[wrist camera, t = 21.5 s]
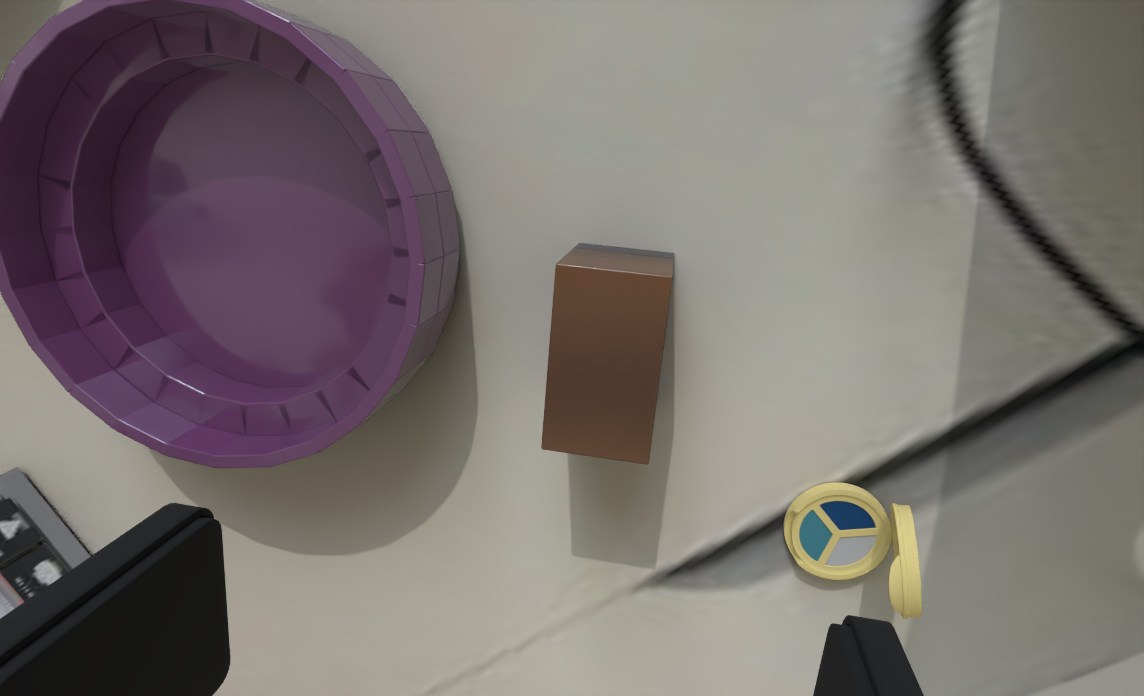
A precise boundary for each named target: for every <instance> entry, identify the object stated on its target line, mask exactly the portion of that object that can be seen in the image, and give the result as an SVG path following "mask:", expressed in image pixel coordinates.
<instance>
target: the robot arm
mask: <svg viewBox="0 0 1144 696" xmlns="http://www.w3.org/2000/svg"><path fill="white" fill-rule="evenodd" d="M229 666H230V647H229V632H228V617H227V602H226V587H225V572H224V557H223V542H222V529H221V524H220V523H219V521H217V520H215V519H214V516H213V514H212V512H211V511H210V510H208V509H207V508H201V507H195V506H189V505H183V504H177V503H170V504H168V505H166V506H164V507H162V508H161V509H160V510H158V511H157V512H155V513H154V514H152V515H151V516H149V517H148V518H146V519H145V520H143V521H142V522H141V523H139V524H138V525H136V526H135V527H133V528H132V529H130V530H129V531H127V532H126V533H124V534H123V535H122V536H120V537H119V538H117V539H116V540H114V541H113V542H111V543H110V544H108V545H107V546H105V547H104V548H103V549H101V550H100V551H98V552H97V553H95V554H94V555H92V556H91V557H89V558H88V559H86V560H85V561H84V562H82V563H81V564H79V565H78V566H76V567H75V568H73V569H72V570H70V571H69V572H68V573H66V574H65V575H63V576H62V577H60V578H59V579H57V580H56V581H54V582H53V583H51V584H50V585H49V586H47V587H46V588H44V589H43V590H41V591H40V592H38V593H37V594H35V595H34V596H32V597H31V598H30V599H28V600H27V601H25V602H24V603H22V604H21V605H19V606H18V607H16V608H15V609H13V610H12V611H11V612H9V613H8V614H6V615H5V616H3V617H2V618H0V696H212V695H213V694H214V693H215V692H216V691H217V689H218V688H219V687H220V686H221V684H222V683H223V681H224V680H225V678H226V676H227V673H228V670H229ZM813 696H924V695H923V693H922V691H921V688H920V686H919V684H918V682H917V679H916V677H915V675H914V673H913V670H912V668H911V666H910V663H909V661H908V659H907V657H906V654H905V652H904V650H903V647H902V645H901V643H900V641H899V638H898V636H897V634H896V632H895V629H894V627H893V626H892V624H891V623H889V622H887V621H881V620H875V619H869V618H863V617H857V616H851V615H848V616H846V617H845V619H844V621H843V623H842V625H840V624H834V623H833V624H831V625H830V627H829V630H828V633H827V637H826V642H825V646H824V651H823V655H822V659H821V664H820V668H819V673H818V677H817V682H816V686H815V690H814V695H813Z"/></svg>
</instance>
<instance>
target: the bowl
mask: <svg viewBox="0 0 1144 696" xmlns="http://www.w3.org/2000/svg"><path fill="white" fill-rule="evenodd" d="M429 133H430V132H429V130H428V129H427V127H426V126H425V125H424V123H423V122H422V120H421V119H420V117H419V116H418V115H417V113H416V112H415V110H414V109H413V107H412V106H411V104H410V103H409V102H408V100H407V99H406V97H405V96H404V94H403V93H402V92H401V90H400V89H399V87H398V86H397V84H396V83H395V82H394V81H393V80H392V79H391V78H390V77H389V76H388V75H387V74H386V73H384V72H383V71H382V70H381V69H380V68H379V67H377V66H376V65H375V64H374V63H373V62H372V61H371V60H369V59H368V58H367V57H366V56H365V55H364V54H363V53H361V52H360V51H359V50H358V49H357V48H356V47H354V46H353V45H352V44H351V43H350V42H349V41H347V40H346V39H344V38H342V37H340V36H338V35H336V34H334V33H332V32H330V31H328V30H326V29H323V28H321V27H319V26H317V25H315V24H313V23H311V22H309V21H307V20H305V19H303V18H301V17H299V16H297V15H295V14H292V13H289V12H286V11H284V10H281V9H278V8H275V7H272V6H269V5H266V4H263V3H261V2H258V1H255V0H83V1H81V2H79V3H77V4H75V5H73V6H72V7H70V8H68V9H66V10H64V11H62V12H60V13H58V14H57V15H55V16H53V17H52V18H50V19H49V20H48V21H47V22H46V23H45V24H44V25H43V27H42V28H41V29H40V30H39V31H38V32H37V33H36V34H35V35H34V36H33V37H32V38H31V40H30V41H29V42H28V43H27V44H26V45H25V46H24V47H23V48H22V49H21V50H20V51H19V53H18V54H17V55H16V56H15V57H14V58H13V61H11V63H10V65H9V67H8V69H7V71H6V73H5V76H4V78H3V80H2V82H1V84H0V292H1V295H2V297H3V299H4V301H5V302H6V304H7V306H8V308H9V310H10V312H11V313H12V315H13V317H14V319H15V321H16V323H17V324H18V326H19V328H20V330H21V332H22V334H23V335H24V337H25V339H26V341H27V343H28V345H29V346H31V349H32V350H33V351H34V352H35V353H36V355H37V356H38V357H39V358H40V359H41V361H42V362H43V363H44V364H45V365H46V367H47V368H48V369H49V370H50V371H51V373H52V374H53V375H54V376H55V377H56V379H57V380H58V381H59V382H60V383H61V385H62V386H63V387H64V388H65V389H66V391H67V392H70V395H71V396H73V397H74V398H75V399H76V400H78V401H79V402H80V403H81V404H83V405H84V406H85V407H86V408H88V409H89V410H90V411H91V412H93V413H94V414H95V415H96V416H98V417H99V418H100V419H101V420H103V421H104V422H105V423H106V424H108V425H109V426H110V427H111V428H113V429H115V430H116V431H117V432H119V433H121V434H123V435H125V436H127V437H129V438H131V439H133V440H135V441H137V442H139V443H141V444H143V445H145V446H147V447H149V448H151V449H153V450H155V451H157V452H159V453H161V454H163V455H165V456H169V457H173V458H177V459H181V460H185V461H189V462H193V463H197V464H202V465H206V466H210V467H214V468H263V467H273V466H277V465H280V464H283V463H287V462H290V461H293V460H297V459H300V458H303V457H306V456H310V455H313V454H316V453H319V452H321V451H323V450H324V449H326V448H327V447H329V446H330V445H331V444H333V443H334V442H336V441H337V440H339V439H340V438H342V437H343V436H345V435H346V434H348V433H349V432H351V431H352V430H354V429H355V428H357V427H358V426H360V425H361V424H362V423H364V422H365V421H366V420H367V419H368V418H370V417H371V416H372V415H373V414H374V413H375V412H377V411H378V410H379V409H380V408H381V407H382V406H384V405H385V404H386V403H387V402H388V401H390V400H391V399H392V398H393V397H394V396H395V395H397V394H398V393H399V392H400V391H401V390H402V389H404V387H405V386H406V385H407V384H408V382H409V381H410V380H411V379H412V377H413V376H414V375H415V374H416V373H417V371H418V370H419V369H420V368H421V366H422V365H423V364H424V363H425V361H426V360H427V359H428V358H429V356H430V355H431V354H432V353H433V351H434V349H435V347H436V344H437V342H438V339H439V337H440V335H441V332H442V330H443V327H444V325H445V323H446V320H447V318H448V315H449V313H450V310H451V308H452V306H453V302H454V294H455V286H456V278H457V270H458V262H459V254H460V249H459V248H460V244H459V237H458V229H457V221H456V213H455V206H454V198H453V191H451V190H452V188H451V186H450V183H449V180H448V178H447V175H446V173H445V170H444V168H443V165H442V162H441V160H440V157H439V155H438V152H437V150H436V147H435V144H434V142H433V139H432V137H431V135H430V134H429Z"/></svg>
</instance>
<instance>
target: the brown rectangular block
mask: <svg viewBox="0 0 1144 696" xmlns="http://www.w3.org/2000/svg"><path fill="white" fill-rule="evenodd" d="M673 267H674V253H667V252H658V251H648V250H639V249H630V248H620V247H611V246H602V245H592V244H583V243H579V244H578V245H577V246H576V247H574V248H573V249H572V250H571V251H570V252H569V253H568V254H567V255H566V256H564V257H563V258H562V259H561V260H560V261H559V262H558V263H557V264H556V270H555V282H554V295H553V308H552V320H551V333H550V346H549V358H548V371H547V384H546V396H545V409H544V422H543V434H542V447H541V448H542V449H544V450H551V451H558V452H565V453H572V454H579V455H586V456H593V457H599V458H606V459H613V460H620V461H627V462H634V463H641V464H648V463H649V457H650V449H651V442H652V434H653V426H654V418H655V410H656V403H657V395H658V387H659V379H660V371H661V364H662V356H663V348H664V340H665V332H666V325H667V317H668V309H669V301H670V293H671V286H672V278H673Z"/></svg>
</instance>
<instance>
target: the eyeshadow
mask: <svg viewBox="0 0 1144 696" xmlns="http://www.w3.org/2000/svg"><path fill="white" fill-rule="evenodd" d="M783 529H784V536H785V540H786V543H787V546H788V548H789V550H790V552H791V553H792V555H793V557H794V558H795V560H796V562H797V563H798V565H799V566H800V567H801V568H803V569H804V570H806V571H807V572H809V573H811V574H813V575H816V576H818V577H821V578H826V579H832V580H844V579H851V578H855V577H858V576H861V575H863V574H865V573H867V572H869V571H871V570H872V569H874V568H875V567H876V566H877V565H878V564H879V563H880V562H881V561H882V560H883V559H884V557H885V556H886V554H887V552H888V550H889V548H890V545H891V540H892V542H893V554H894V561H893V563H892V565H891V567H890V572H889V596H890V602H891V605H892V607H893V609H894V610H895V611H897V612H899V613H901V615H902V618H903V619H907V618H908V617H921V614H922V596H921V580H920V569H919V559H918V550H917V542H916V535H915V528H914V522H913V517H912V513H911V509H910V506H909V505H897V504H896V503H892V504H891V524H890V521H889V518H888V516H887V514H886V512H885V511H884V509H883V507H882V505H881V504H880V503H879V501H878V500H877V499H876V498H875V497H874V496H873V495H872V494H870V493H869V492H867V491H866V490H864V489H862V488H860V487H858V486H855V485H852V484H847V483H837V482H834V483H825V484H821V485H817V486H814V487H812V488H810V489H808V490H806V491H805V492H803V493H802V494H800V495H799V496H798V497H797V498H796V499H795V500H794V501H793V502H792V503H791V504H790V506H789V508H788V510H787V512H786V515H785V519H784V528H783Z"/></svg>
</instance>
